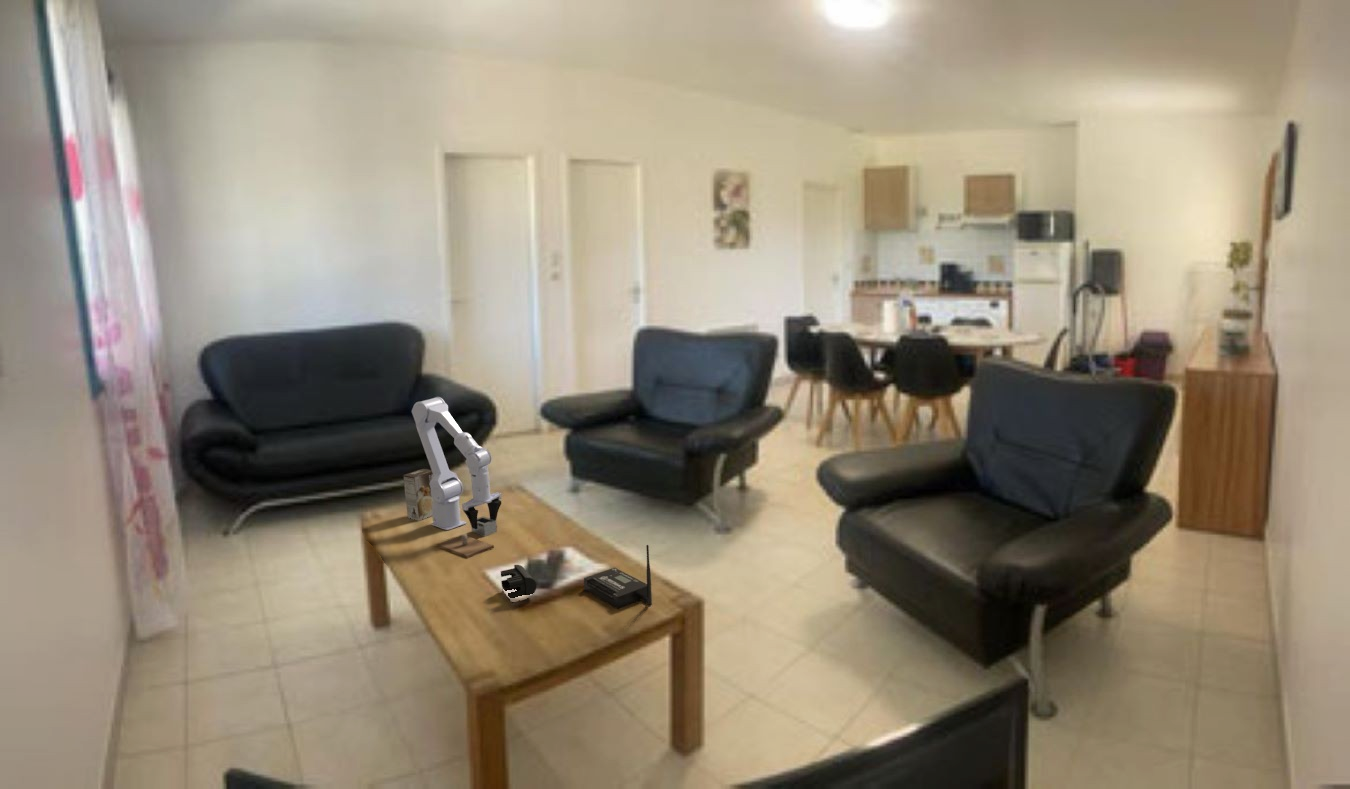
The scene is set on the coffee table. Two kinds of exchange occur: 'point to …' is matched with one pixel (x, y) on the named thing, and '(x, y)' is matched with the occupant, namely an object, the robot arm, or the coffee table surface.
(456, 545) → the keeper board
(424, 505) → the coffee box
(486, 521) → the steel link
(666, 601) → the coffee table surface
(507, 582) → the end cap
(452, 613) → the coffee table surface
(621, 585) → the wireless controller
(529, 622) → the coffee table surface
